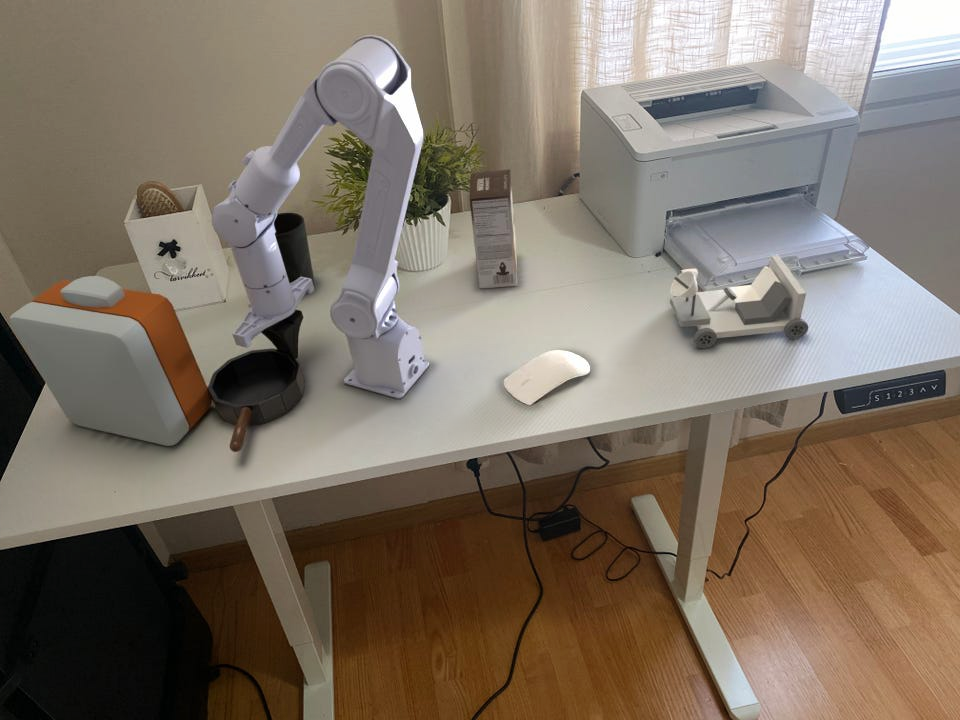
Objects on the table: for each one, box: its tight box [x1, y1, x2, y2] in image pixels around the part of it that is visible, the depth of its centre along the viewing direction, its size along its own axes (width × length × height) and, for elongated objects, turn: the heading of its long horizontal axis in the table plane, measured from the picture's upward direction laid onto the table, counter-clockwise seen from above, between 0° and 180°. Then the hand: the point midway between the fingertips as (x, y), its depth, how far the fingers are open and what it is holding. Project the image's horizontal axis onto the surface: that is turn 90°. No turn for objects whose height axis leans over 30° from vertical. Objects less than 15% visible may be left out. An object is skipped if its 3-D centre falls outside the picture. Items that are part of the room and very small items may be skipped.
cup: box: [274, 212, 316, 296], centre depth 119 cm, size 8×8×12 cm
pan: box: [207, 347, 305, 453], centre depth 98 cm, size 19×12×4 cm, turn 3°
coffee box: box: [469, 168, 518, 289], centre depth 116 cm, size 9×6×16 cm
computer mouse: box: [503, 349, 591, 406], centre depth 98 cm, size 7×12×2 cm, turn 121°
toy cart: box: [669, 254, 809, 349], centre depth 102 cm, size 18×10×12 cm
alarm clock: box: [9, 275, 213, 447], centre depth 94 cm, size 18×9×21 cm, turn 70°
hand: (290, 357), depth 105 cm, fingers closed
